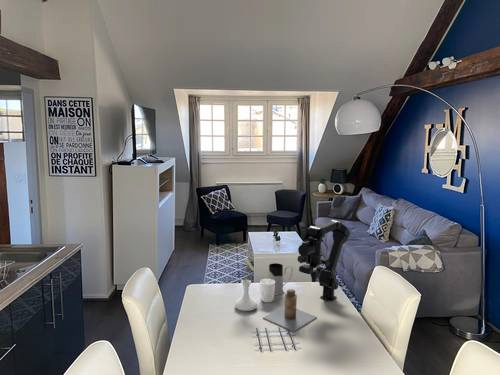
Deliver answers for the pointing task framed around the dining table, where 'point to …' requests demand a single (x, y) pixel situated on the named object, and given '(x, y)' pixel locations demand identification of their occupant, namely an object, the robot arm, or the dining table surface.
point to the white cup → (267, 290)
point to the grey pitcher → (278, 276)
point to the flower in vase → (246, 294)
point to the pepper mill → (290, 304)
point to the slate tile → (291, 325)
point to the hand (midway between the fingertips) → (314, 281)
